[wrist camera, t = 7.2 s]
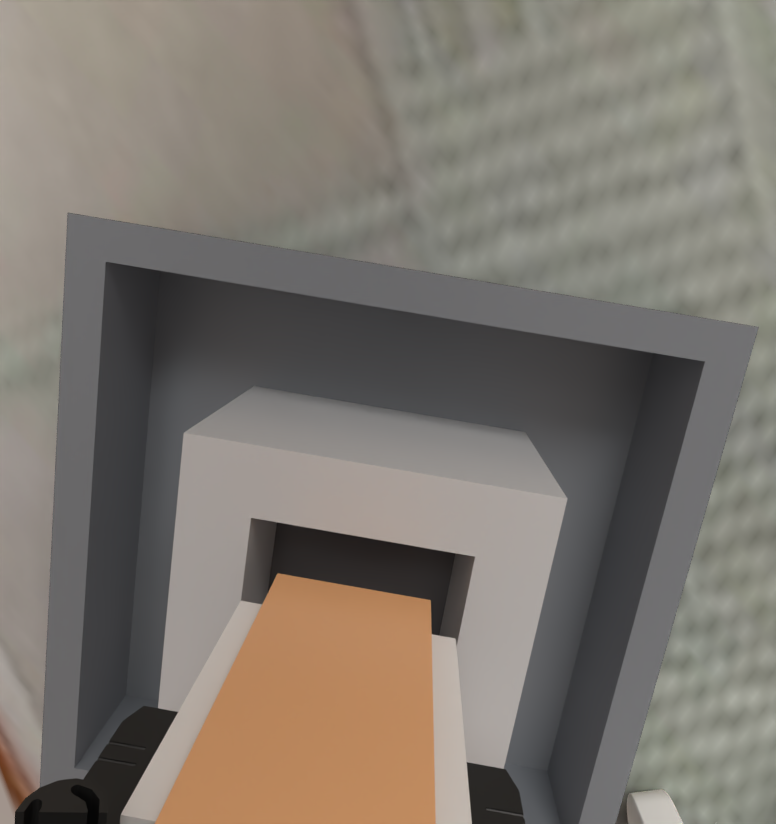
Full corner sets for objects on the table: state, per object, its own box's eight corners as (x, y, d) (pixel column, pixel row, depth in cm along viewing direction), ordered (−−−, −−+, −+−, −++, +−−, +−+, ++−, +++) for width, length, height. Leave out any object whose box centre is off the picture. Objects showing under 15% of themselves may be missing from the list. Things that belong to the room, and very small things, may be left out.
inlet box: (142, 225, 23) (0, 200, 15) (687, 315, 23) (823, 337, 15) (107, 699, 28) (-18, 866, 20) (564, 781, 27) (621, 985, 19)
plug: (276, 570, 16) (57, 1005, 7) (432, 598, 16) (447, 1080, 7) (257, 708, 17) (41, 1270, 8) (406, 735, 17) (384, 1338, 7)
